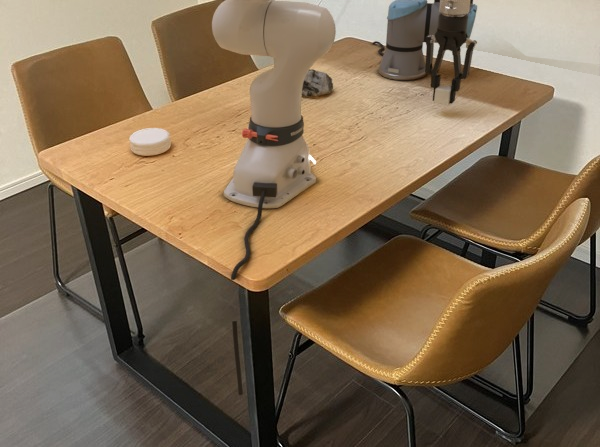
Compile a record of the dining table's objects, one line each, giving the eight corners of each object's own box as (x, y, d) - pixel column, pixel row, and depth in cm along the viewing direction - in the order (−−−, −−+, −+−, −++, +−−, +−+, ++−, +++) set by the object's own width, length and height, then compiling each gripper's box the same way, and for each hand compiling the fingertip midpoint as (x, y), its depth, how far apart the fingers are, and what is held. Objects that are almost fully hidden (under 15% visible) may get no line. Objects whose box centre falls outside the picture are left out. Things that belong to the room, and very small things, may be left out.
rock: (337, 91, 188) (337, 68, 185) (314, 100, 182) (313, 76, 179) (303, 81, 198) (303, 59, 194) (280, 89, 192) (279, 66, 188)
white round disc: (133, 140, 161) (131, 128, 159) (172, 138, 162) (170, 126, 160) (128, 157, 152) (126, 144, 150) (169, 155, 153) (167, 142, 151)
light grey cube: (438, 98, 174) (440, 84, 172) (452, 100, 172) (454, 86, 170) (433, 103, 170) (435, 89, 168) (447, 105, 169) (449, 91, 167)
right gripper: (416, 13, 160) (409, 99, 172) (483, 20, 152) (470, 110, 165) (426, 7, 165) (418, 91, 177) (490, 13, 158) (478, 101, 170)
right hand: (443, 100), depth 171 cm, fingers closed on light grey cube, 4 cm apart
